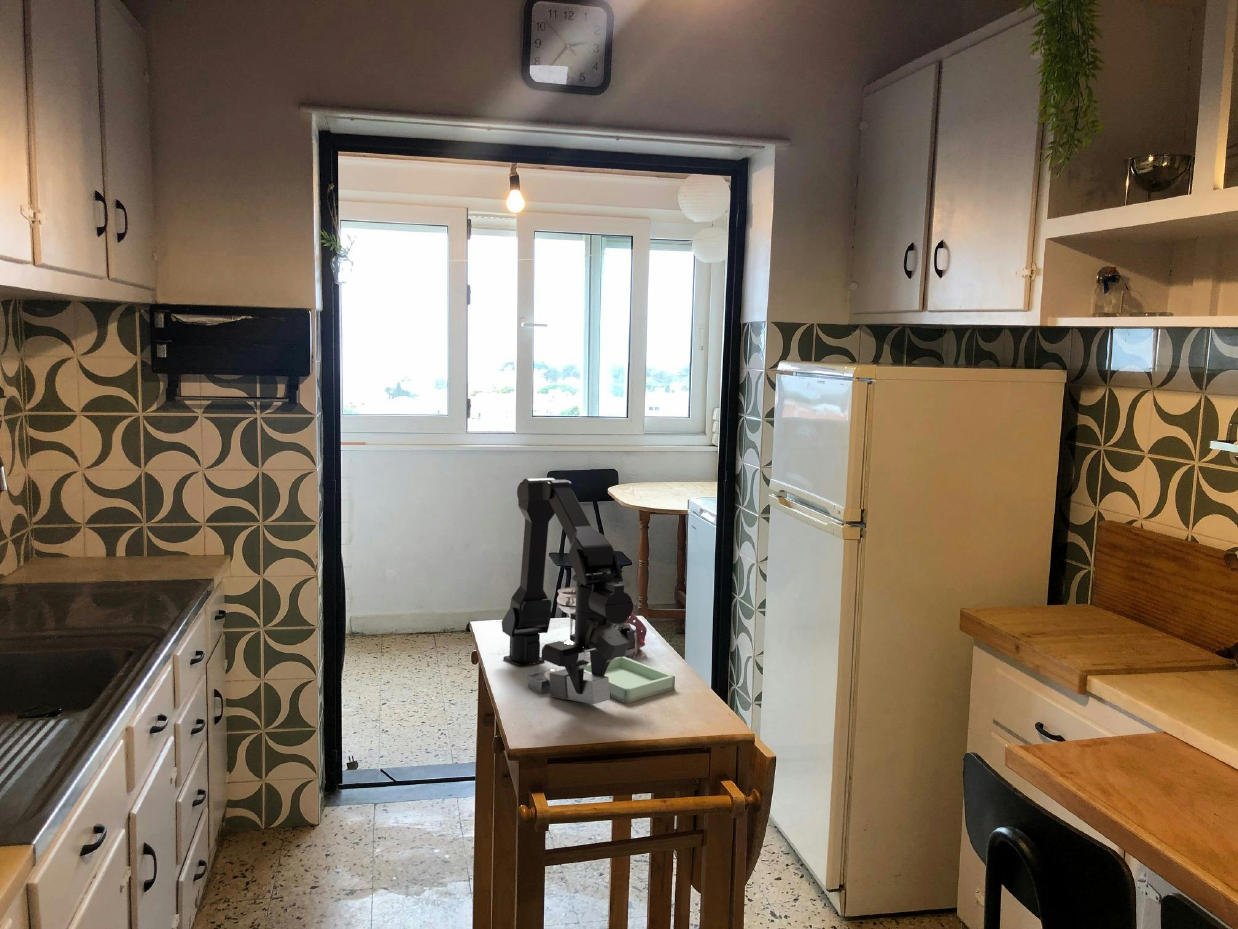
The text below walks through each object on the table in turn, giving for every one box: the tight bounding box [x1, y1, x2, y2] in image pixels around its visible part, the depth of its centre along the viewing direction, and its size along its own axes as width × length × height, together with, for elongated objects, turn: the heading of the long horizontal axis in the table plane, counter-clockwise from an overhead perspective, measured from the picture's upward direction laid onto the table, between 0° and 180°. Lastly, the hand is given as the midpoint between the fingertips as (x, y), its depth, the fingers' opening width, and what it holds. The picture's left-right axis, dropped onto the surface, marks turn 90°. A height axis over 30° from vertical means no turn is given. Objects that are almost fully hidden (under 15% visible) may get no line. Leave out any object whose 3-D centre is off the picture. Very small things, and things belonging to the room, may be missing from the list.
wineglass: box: [556, 587, 576, 645], centre depth 214 cm, size 7×7×12 cm
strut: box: [549, 668, 611, 705], centre depth 178 cm, size 12×4×4 cm, turn 44°
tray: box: [584, 657, 676, 704], centre depth 189 cm, size 16×13×3 cm
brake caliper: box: [612, 612, 648, 659], centre depth 210 cm, size 11×11×12 cm
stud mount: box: [527, 668, 558, 695], centre depth 185 cm, size 5×6×4 cm
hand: (587, 691), depth 177 cm, fingers closed on strut, 4 cm apart
